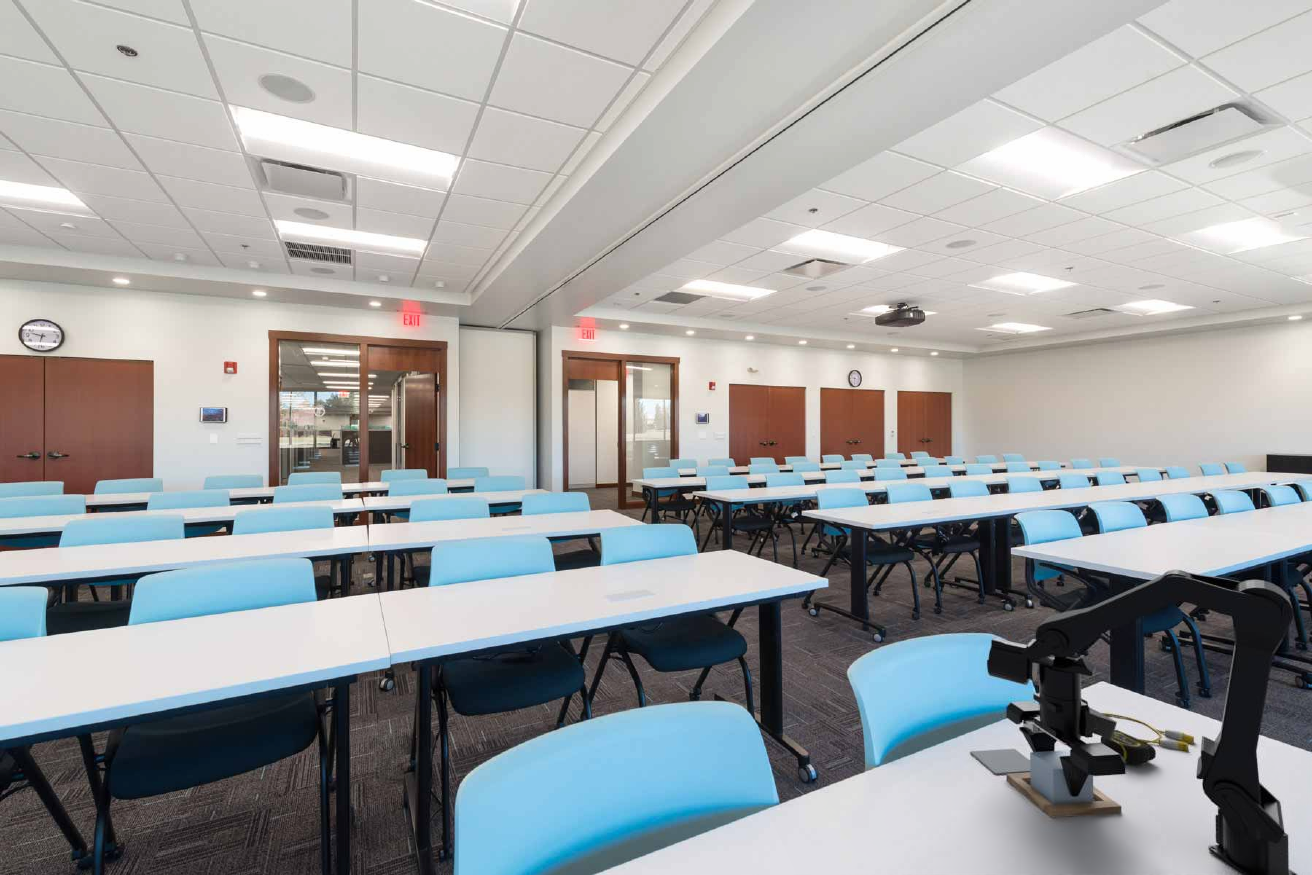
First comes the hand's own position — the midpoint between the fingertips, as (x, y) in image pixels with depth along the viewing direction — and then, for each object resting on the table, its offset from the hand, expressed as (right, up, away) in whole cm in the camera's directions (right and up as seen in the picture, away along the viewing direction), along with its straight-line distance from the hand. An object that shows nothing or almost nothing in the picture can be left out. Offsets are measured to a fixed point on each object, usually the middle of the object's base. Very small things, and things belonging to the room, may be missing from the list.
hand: (1061, 785), depth 94 cm
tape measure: (+20, -2, +11) cm, 23 cm away
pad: (-3, -2, +10) cm, 10 cm away
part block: (0, -2, 0) cm, 2 cm away
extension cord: (+30, -2, +20) cm, 36 cm away
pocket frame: (0, -2, 0) cm, 2 cm away
